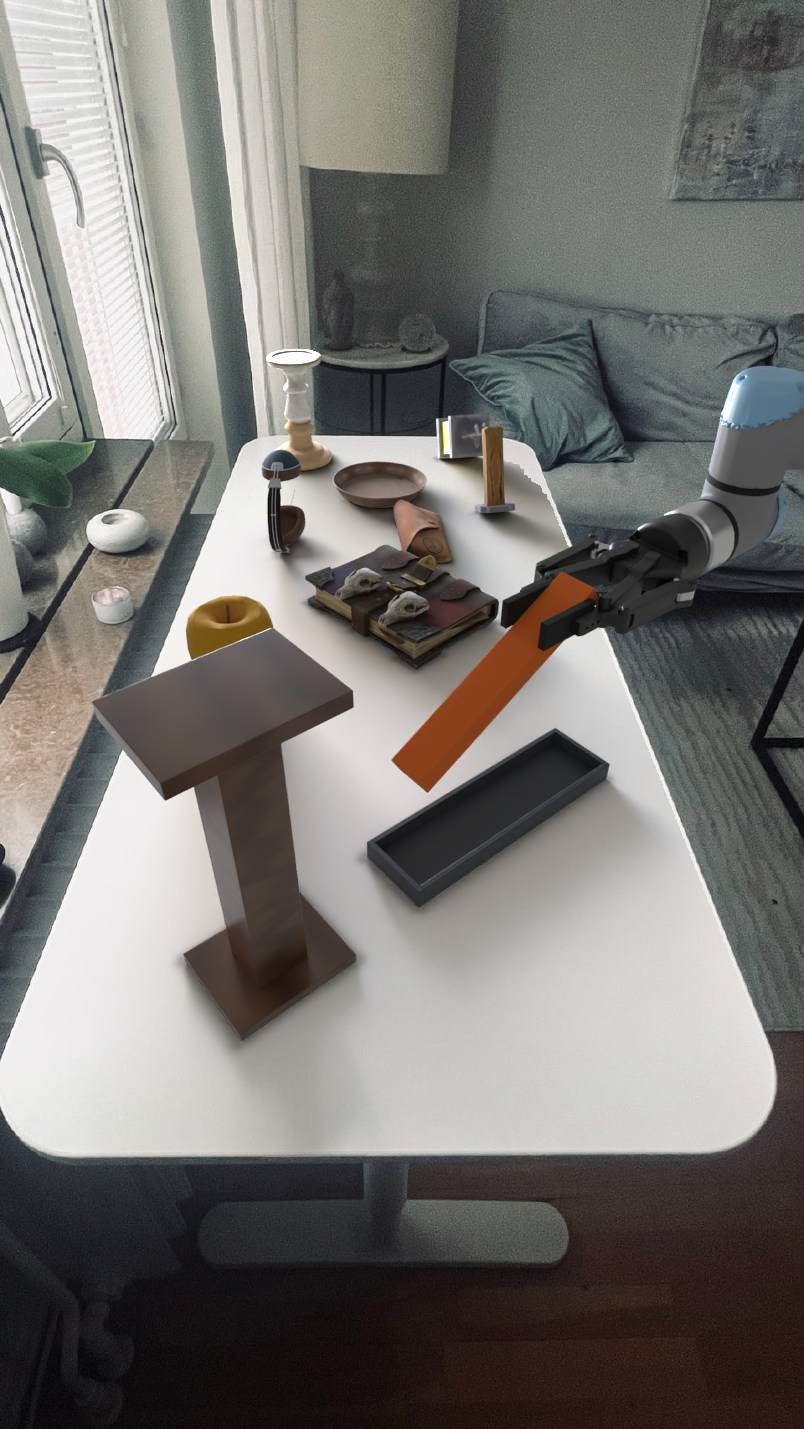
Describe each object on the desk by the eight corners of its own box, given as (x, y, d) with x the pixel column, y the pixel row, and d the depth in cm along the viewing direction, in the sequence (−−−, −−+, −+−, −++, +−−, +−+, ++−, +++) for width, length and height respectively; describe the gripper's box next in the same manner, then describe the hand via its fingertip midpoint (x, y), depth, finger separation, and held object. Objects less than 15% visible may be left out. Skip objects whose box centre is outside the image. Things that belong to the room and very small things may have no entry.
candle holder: (287, 445, 169) (277, 345, 156) (340, 452, 166) (335, 350, 153) (261, 467, 160) (249, 362, 147) (318, 474, 157) (310, 368, 144)
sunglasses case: (456, 560, 129) (436, 528, 125) (419, 581, 130) (398, 551, 127) (438, 512, 143) (420, 483, 139) (405, 532, 144) (386, 504, 140)
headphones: (278, 503, 144) (260, 573, 128) (269, 423, 133) (248, 489, 118) (312, 504, 144) (298, 574, 128) (306, 424, 133) (289, 490, 118)
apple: (268, 721, 98) (256, 634, 90) (184, 713, 99) (165, 627, 91) (290, 669, 106) (281, 585, 98) (212, 663, 107) (197, 579, 99)
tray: (552, 741, 95) (555, 727, 93) (606, 778, 90) (610, 763, 89) (367, 856, 81) (366, 841, 80) (418, 907, 76) (419, 892, 75)
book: (503, 624, 115) (507, 579, 110) (413, 673, 106) (414, 627, 101) (383, 559, 130) (382, 517, 126) (295, 597, 121) (291, 554, 116)
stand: (303, 887, 78) (272, 626, 59) (365, 954, 72) (353, 690, 53) (174, 966, 71) (91, 700, 52) (230, 1048, 65) (160, 783, 46)
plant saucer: (402, 469, 159) (402, 454, 157) (442, 503, 147) (443, 487, 145) (319, 484, 153) (318, 469, 152) (355, 520, 141) (354, 504, 139)
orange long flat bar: (566, 584, 76) (561, 571, 74) (599, 602, 74) (594, 588, 72) (399, 769, 73) (390, 759, 72) (428, 793, 71) (419, 783, 69)
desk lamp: (440, 504, 167) (478, 513, 139) (436, 418, 162) (475, 410, 133) (475, 501, 168) (520, 510, 140) (472, 416, 163) (518, 407, 135)
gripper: (741, 612, 80) (590, 704, 68) (607, 550, 90) (456, 620, 78) (763, 545, 75) (604, 631, 64) (619, 487, 85) (460, 552, 74)
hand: (523, 625), depth 71 cm, fingers closed on orange long flat bar, 4 cm apart
